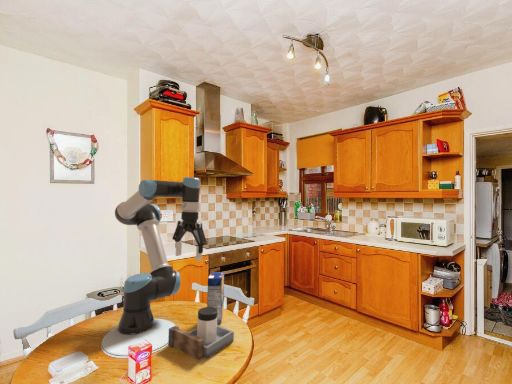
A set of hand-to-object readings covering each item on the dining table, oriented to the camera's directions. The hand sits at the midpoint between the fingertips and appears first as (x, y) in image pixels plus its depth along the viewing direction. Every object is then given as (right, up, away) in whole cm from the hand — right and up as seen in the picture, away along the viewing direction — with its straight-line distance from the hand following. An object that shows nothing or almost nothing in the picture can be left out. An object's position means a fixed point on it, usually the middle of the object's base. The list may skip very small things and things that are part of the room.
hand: (188, 257), depth 122 cm
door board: (+4, -33, -16) cm, 37 cm away
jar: (+10, -32, -9) cm, 35 cm away
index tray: (+11, -34, -9) cm, 36 cm away
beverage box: (+10, -34, +13) cm, 38 cm away
